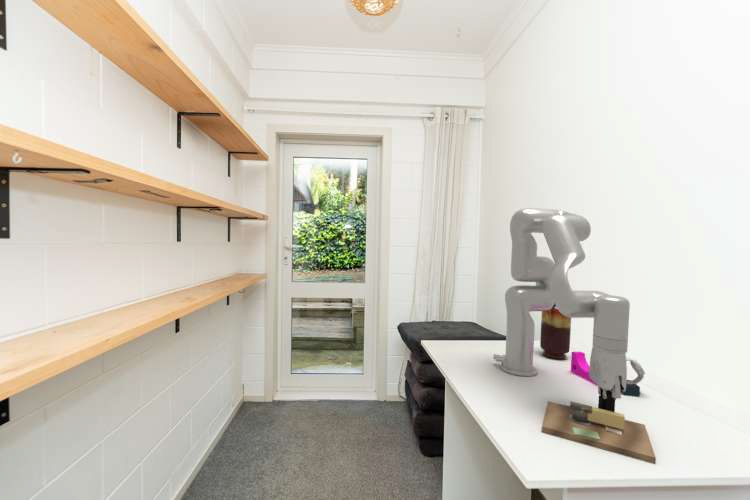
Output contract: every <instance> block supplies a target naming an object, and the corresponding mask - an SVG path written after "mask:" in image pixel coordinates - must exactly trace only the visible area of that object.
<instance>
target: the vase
mask: <svg viewBox="0 0 750 500" xmlns="http://www.w3.org/2000/svg"><path fill="white" fill-rule="evenodd" d="M540 320H541V323H540V344H539V346H540V349H542V350H543V351H542V355H543V356H545V357H548V358H552V359H558V360H563V359H566V358H567V354H568V353H569V352H570V344H571V327H572V325H571V324H572V318H569V317H566V316H564V315H562V314H561V313H560V312H559V310H558V309H557V307H556V305H555V303H554V305H553V307H552V308H551V309H550V310H548V311H541V319H540Z"/></svg>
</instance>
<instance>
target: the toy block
mask: <svg viewBox="0 0 750 500" xmlns="http://www.w3.org/2000/svg"><path fill="white" fill-rule="evenodd" d="M589 367H590V364H588V361H587V359H586V353H584V352H583V351H580V350H579V351H571V359H570V372H571V373H572V374H575V375H576V376H578V377H580V378H582V379H583V380H585V381H587V382H590V383H592V384H593V385H596V386H597V387H598V385H597V384H596V383H595V382H594V381H593V380H592V379H591V378H590V377H589Z"/></svg>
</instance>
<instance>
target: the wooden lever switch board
mask: <svg viewBox="0 0 750 500" xmlns="http://www.w3.org/2000/svg"><path fill="white" fill-rule="evenodd" d="M572 412H573V409H570V405H566V404H561V403H557V402H553V401H550V400H548V401H547V404H546V409H545V413H544V417H543V421H542V425H541V433H544V434H548V435H551V436H555V437H559V438H562V439H565V440H569V441H573V442H577V443H579V444H583V445H587V446H591V447H593V448H597V449H602V450H605V451H608V452H613V453H616V454H619V455H623V456H626V457H629V458H633V459H637V460H640V461H645V462H646V463H651V464H656V463H657V462H656V460H657V458H656V455H655V452H654V448H653V445H652V442H651V440H650V439H651V438H650V437H649V433H648V430H647V427H646V425H645V424H644V423H639V422H636V421H632V420H628V419H625V424H624V430H623V429H619V428H616V427H612V426H608V425H604V424H600V423H596V422H592V421H588V422H587V423H583V422H579V421H576V420H574V419H573V418H572Z"/></svg>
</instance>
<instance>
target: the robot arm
mask: <svg viewBox="0 0 750 500" xmlns="http://www.w3.org/2000/svg"><path fill="white" fill-rule="evenodd" d="M591 229H592V227H591V225H590V222H589V220H588V219H587V218H586V217H584V216H583V215H579V214H576V213H573V212H572V213H571V212H568V211H565V210H561V209H552V208H551V209H550V208H537V207H535V208H532V207H531V208H530V207H529V208H528V207H527V208H521V209H519V210H516V211H515V212H514V213H513V215H512V216H511V218H510V222H509V232H510V239H511V258H510V259H511V261H510V273H511V274H510V276H511V277H512V279H513V280H514V281H516V282H522V283H535V285H531V284H530V285H529V284H528V285H527V284H526V285H525V284H524V285H521V284H520V285H519V284H518V285H517V284H516V285H514V286H510V287H509V288H507V289H506V291H505V293H504V302H505V307H506V334H505V335H506V336H505V354H502V355H500V354H496V353H494V354H493V358H492V359H494V361H495V362H499V363H500V369H501V370H502V371H504V372H506V373H508V374H510V375H514V376H518V377H534V376H536V375H537V374H538V368H537V367H535V366H534V350H535V349H534V348H535V347H534V344H535V343H534V342H535V322H534V320H533V318H532V316H531V314H530V313H531V312H542V311H548V310H550V309H551V308H552V307H553V305H554V303H555V305H556V307H557V309H558V310H559V312H560V313H561V314H562V315H564V316H566V317H569V318H571V319H572V318H573V319H579V318H580V319H584V318H587V319H588V318H589V319H590V318H592V319H593V329H592V347H591V351H590V360H589V366H590V367H589V377H590V378H591V379H592V380H593V381H594V382H595V383H596V384H597V385H598V386H597V385H596V386H597V394H598V404H597V405H598V407H597V408H599V409H604V410H608V411H612V412H616V400H617V399H622V393H621V392H624V391H625V390H626V382H627V380H628V379H627V377H628V375H627V374H628V373H627V371H628V369H627V368H628V366H627V361H626V357H627V355H626V354H627V353H628V344H629V343H628V342H629V328H630V327H629V324H630V306H631V304H630V301H629V299H627V298H626V297H623V296H619V295H611V294H608V293H605V292H604V291H599V290H573V289H572V286H571V284H570V282H569V278H568V273H569V272H568V271H569V269H572V268H574V267H576V266H579V265H580V264H581V263H583V261H584V260H585V259H586V253H585V250H584V249H583V247H582V243H581V242H584V241H585V240H588V238H589V237H590V235H591V232H592V230H591ZM533 233H535V234H536V233H539V234H543V236H544V238H545V242H546V243H547V247H548V249H549V252H550V254H551V256H552V257H551V258H550V257H548V256H540V255H539V256H538V254H537V253H538V243H537V241H536V239H535V237H534V236H533Z"/></svg>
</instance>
